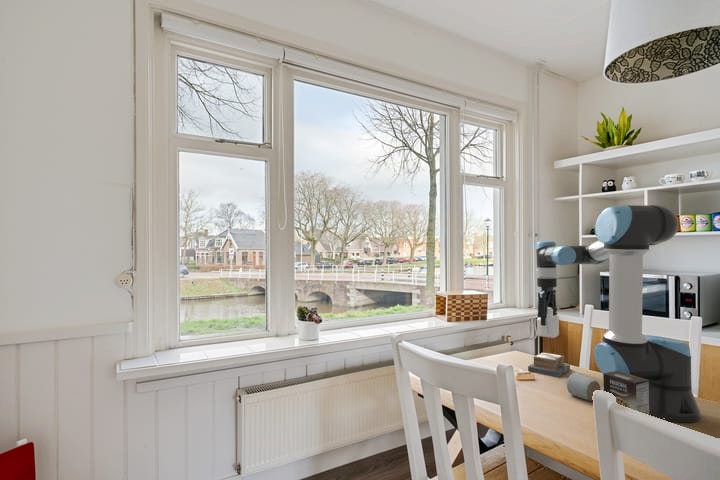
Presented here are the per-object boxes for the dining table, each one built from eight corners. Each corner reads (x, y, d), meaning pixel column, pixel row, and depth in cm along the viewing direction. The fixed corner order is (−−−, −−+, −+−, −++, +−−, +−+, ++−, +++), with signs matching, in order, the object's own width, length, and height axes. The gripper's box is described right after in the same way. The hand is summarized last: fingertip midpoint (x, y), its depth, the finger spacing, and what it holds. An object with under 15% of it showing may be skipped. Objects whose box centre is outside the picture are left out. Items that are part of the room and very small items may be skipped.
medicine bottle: (541, 332, 175) (540, 305, 175) (559, 334, 171) (558, 306, 171) (536, 335, 170) (536, 307, 170) (554, 338, 165) (554, 308, 165)
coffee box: (603, 429, 115) (601, 373, 115) (617, 425, 117) (616, 369, 118) (636, 443, 106) (634, 382, 107) (651, 438, 109) (649, 378, 109)
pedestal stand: (558, 377, 161) (557, 362, 161) (528, 371, 169) (527, 356, 169) (570, 369, 171) (569, 355, 171) (541, 363, 179) (540, 350, 179)
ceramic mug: (589, 404, 133) (588, 380, 133) (566, 396, 140) (566, 374, 141) (608, 398, 138) (607, 376, 138) (585, 391, 145) (585, 369, 146)
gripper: (546, 275, 180) (547, 326, 180) (528, 278, 166) (529, 334, 166) (564, 276, 175) (565, 328, 175) (546, 279, 161) (548, 337, 161)
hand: (547, 331), depth 170 cm, fingers closed on medicine bottle, 7 cm apart
